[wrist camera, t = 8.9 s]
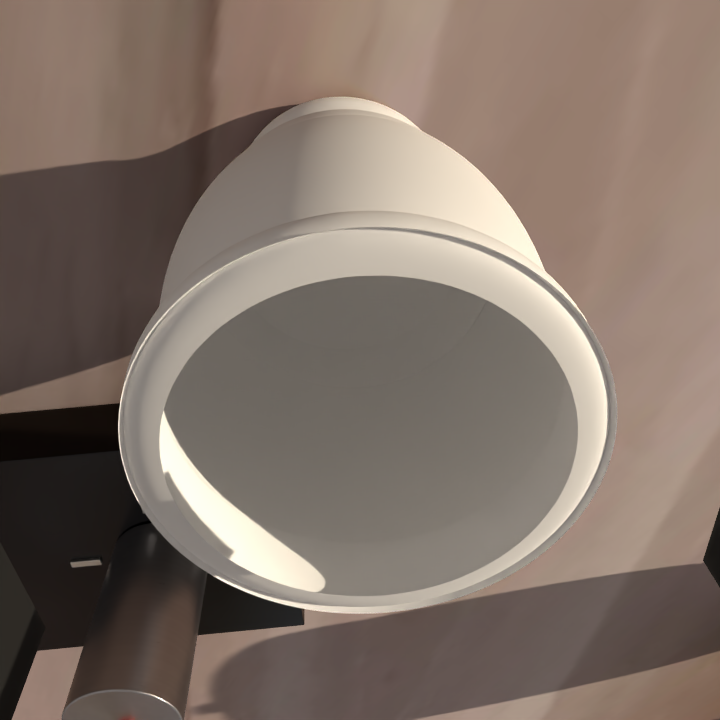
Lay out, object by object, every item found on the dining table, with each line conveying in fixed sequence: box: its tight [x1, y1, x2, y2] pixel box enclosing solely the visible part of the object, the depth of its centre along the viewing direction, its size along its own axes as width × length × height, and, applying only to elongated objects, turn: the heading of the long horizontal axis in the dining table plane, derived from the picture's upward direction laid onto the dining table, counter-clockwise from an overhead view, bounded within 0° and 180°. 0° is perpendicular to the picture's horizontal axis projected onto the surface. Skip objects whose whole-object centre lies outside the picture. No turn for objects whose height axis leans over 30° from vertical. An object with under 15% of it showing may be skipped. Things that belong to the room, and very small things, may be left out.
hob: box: [0, 403, 304, 651], centre depth 33 cm, size 16×13×4 cm
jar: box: [118, 97, 617, 614], centre depth 20 cm, size 11×10×15 cm
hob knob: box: [62, 523, 207, 720], centre depth 28 cm, size 4×4×8 cm
